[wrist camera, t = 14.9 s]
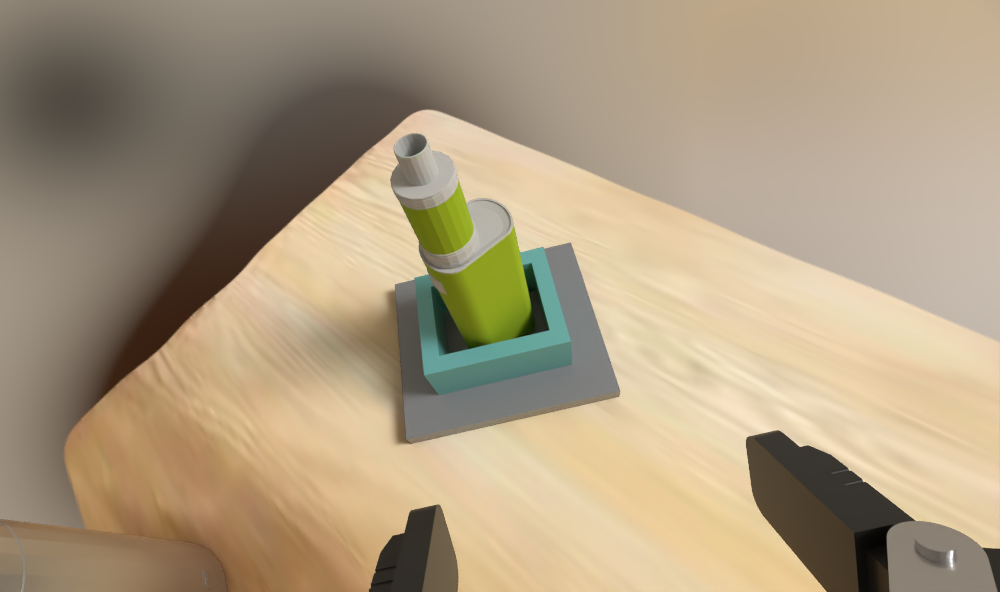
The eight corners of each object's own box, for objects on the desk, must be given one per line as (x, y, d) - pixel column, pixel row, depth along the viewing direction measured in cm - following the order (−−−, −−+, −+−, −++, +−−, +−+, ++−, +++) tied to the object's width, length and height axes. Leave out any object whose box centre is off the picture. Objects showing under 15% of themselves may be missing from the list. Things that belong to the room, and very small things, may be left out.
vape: (457, 341, 39) (353, 150, 22) (513, 296, 40) (455, 83, 23) (485, 372, 37) (396, 190, 20) (543, 324, 38) (504, 115, 22)
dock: (411, 443, 36) (387, 423, 32) (399, 291, 44) (378, 258, 39) (619, 396, 36) (623, 369, 31) (571, 250, 43) (569, 212, 39)
